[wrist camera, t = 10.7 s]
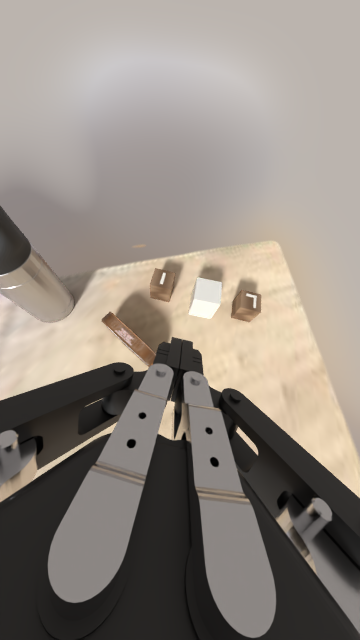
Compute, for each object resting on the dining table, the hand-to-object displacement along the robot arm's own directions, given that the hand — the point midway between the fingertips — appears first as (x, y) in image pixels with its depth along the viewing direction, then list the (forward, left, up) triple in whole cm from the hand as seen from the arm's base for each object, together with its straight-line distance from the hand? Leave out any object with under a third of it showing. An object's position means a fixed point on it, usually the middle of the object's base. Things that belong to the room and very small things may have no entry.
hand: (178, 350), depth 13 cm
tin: (-9, +7, -30) cm, 32 cm away
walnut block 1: (-6, +23, -30) cm, 38 cm away
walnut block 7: (+16, +23, -30) cm, 41 cm away
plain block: (+5, +21, -30) cm, 37 cm away
